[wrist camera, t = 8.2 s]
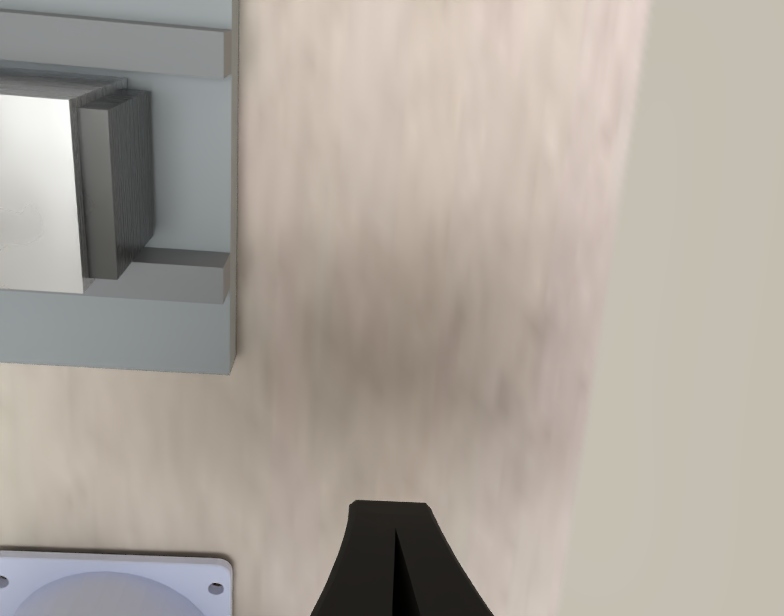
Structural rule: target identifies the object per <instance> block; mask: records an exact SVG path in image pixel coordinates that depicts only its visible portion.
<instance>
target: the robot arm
mask: <svg viewBox="0 0 784 616" xmlns="http://www.w3.org/2000/svg"><path fill="white" fill-rule="evenodd" d="M0 576H4V577H5V578H7V579H3V578H1V577H0V616H232V582H233V570H232V566H231V565H230V563H229V562H227V561H226V560H224V559H219V558H198V557H170V556H143V555H115V554H87V553H59V552H32V551H4V550H1V551H0ZM212 583H219V584H221V585H222V586H214V585H213V584H212ZM310 616H494V615H493V614H492V612H491V611H490V610H489V608H488V607H487V605H486V604H485V602H484V601H483V599H482V598H481V596H480V595H479V593H478V592H477V590H476V589H475V587H474V586H473V584H472V582H471V581H470V579H469V578H468V576H467V575H466V573H465V571H464V570H463V568H462V567H461V565H460V563H459V562H458V560H457V558H456V557H455V555H454V553H453V551H452V549H451V548H450V546H449V544H448V542H447V540H446V539H445V537H444V535H443V533H442V531H441V529H440V527H439V525H438V523H437V521H436V519H435V517H434V515H433V512H432V510H431V508H430V507H429V506H428V505H427V504H426V503H414V502H391V501H368V500H356V501H354V502H353V503H352V504H350V505H349V515H348V522H347V527H346V531H345V535H344V538H343V541H342V544H341V547H340V550H339V553H338V556H337V558H336V561H335V563H334V566H333V568H332V571H331V573H330V576H329V578H328V581H327V583H326V585H325V587H324V589H323V591H322V593H321V595H320V597H319V599H318V601H317V603H316V605H315V607H314V609H313V611H312V613H311V615H310Z"/></svg>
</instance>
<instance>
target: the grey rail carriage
mask: <svg viewBox="0 0 784 616" xmlns="http://www.w3.org/2000/svg"><path fill="white" fill-rule="evenodd" d="M152 237H153V207H152V179H151V150H150V122H149V94H148V90H137V89H127V78H124V77H113V76H101V75H90V74H78V73H66V72H55V71H43V70H31V69H20V68H8V67H0V288H2V289H18V290H33V291H49V292H65V293H81V294H84V292H85V291H86V290H87V289H88V288H89V287H90V286H91V285H92V283H93V282H94V281H95V280H96V279H110V280H118V279H119V277H120V276H121V275H122V274H123V272H124V271H125V270H126V269H127V267H128V266H129V265H130V264H131V263H132V261H133V260H134V259H135V258H136V256H137V255H138V254H139V253H140V251H141V250H142V249H143V248H144V247H145V245H146V244H147V243H148V242H149V240H150V239H151V238H152Z"/></svg>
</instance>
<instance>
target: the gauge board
mask: <svg viewBox="0 0 784 616" xmlns="http://www.w3.org/2000/svg"><path fill="white" fill-rule="evenodd" d="M238 56H239V0H0V67H8V68H20V69H31V70H43V71H55V72H66V73H78V74H90V75H101V76H113V77H124V78H127V89H137V90H148V94H149V122H150V150H151V179H152V207H153V237H152V238H151V239H150V240H149V242H148V243H147V244H146V245H145V247H144V248H143V249H142V250H141V251H140V253H139V254H138V255H137V256H136V258H135V259H134V260H133V261H132V263H131V264H130V265H129V266H128V267H127V269H126V270H125V271H124V272H123V274H122V275H121V276H120V277H119V279H118V280H110V279H96V280H95V281H94V282H93V283H92V285H91V286H90V287H89V288H88V289H87V290H86V291H85V292H84V294H81V293H65V292H49V291H33V290H18V289H2V288H0V362H1V363H19V364H37V365H55V366H73V367H91V368H109V369H127V370H145V371H163V372H181V373H199V374H217V375H230V372H231V369H232V366H233V363H234V360H235V357H236V267H237V162H238Z"/></svg>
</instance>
